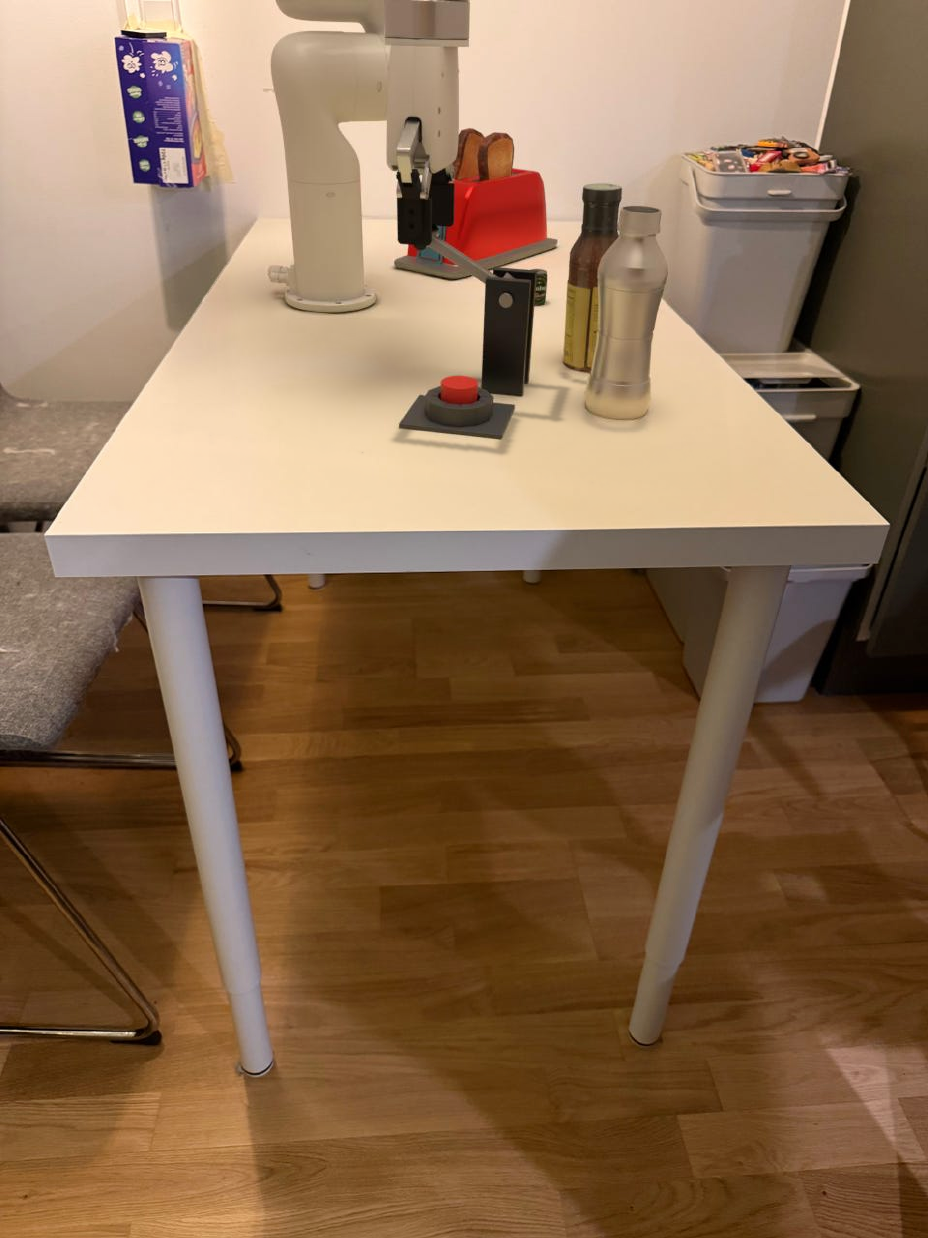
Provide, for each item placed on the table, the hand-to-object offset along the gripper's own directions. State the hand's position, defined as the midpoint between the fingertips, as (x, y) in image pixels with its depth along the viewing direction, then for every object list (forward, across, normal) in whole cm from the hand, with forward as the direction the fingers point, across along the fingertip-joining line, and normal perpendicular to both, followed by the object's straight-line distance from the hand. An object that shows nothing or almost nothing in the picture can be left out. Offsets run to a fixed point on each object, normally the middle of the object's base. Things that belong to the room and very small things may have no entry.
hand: (427, 234), depth 87 cm
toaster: (+15, -63, -6) cm, 66 cm away
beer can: (+16, -38, +6) cm, 42 cm away
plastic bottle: (+16, +3, +20) cm, 26 cm away
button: (+13, +10, +6) cm, 17 cm away
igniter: (+16, +10, +6) cm, 20 cm away
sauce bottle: (+16, -10, +16) cm, 25 cm away
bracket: (+16, 0, +8) cm, 18 cm away
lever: (+4, 0, +4) cm, 6 cm away
